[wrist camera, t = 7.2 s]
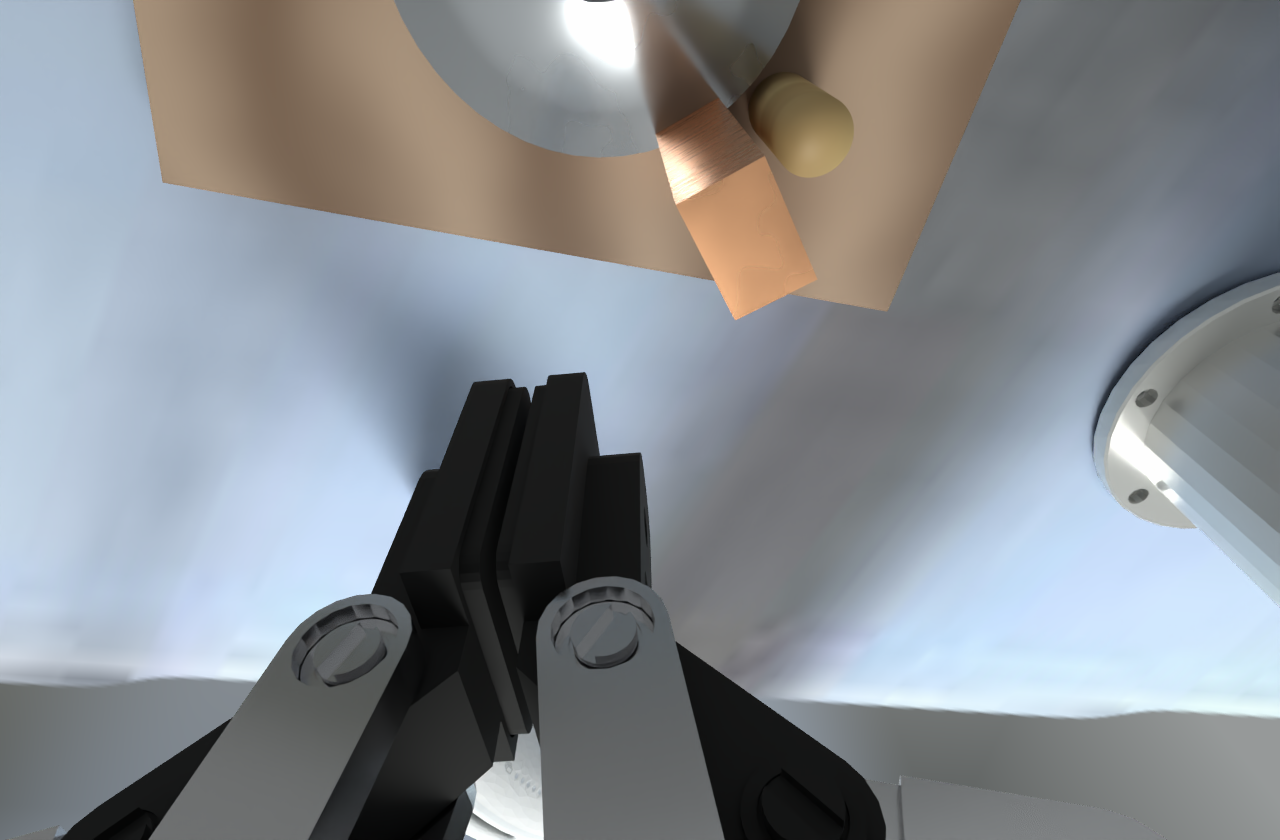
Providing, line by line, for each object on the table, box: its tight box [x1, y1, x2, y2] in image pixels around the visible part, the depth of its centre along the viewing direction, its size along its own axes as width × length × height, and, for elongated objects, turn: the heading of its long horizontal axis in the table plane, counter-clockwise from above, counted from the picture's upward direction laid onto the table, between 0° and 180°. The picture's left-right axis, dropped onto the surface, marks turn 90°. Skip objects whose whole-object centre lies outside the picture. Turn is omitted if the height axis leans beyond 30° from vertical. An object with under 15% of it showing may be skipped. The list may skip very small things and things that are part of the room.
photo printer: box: [465, 726, 544, 840], centre depth 29 cm, size 10×4×12 cm, turn 29°
